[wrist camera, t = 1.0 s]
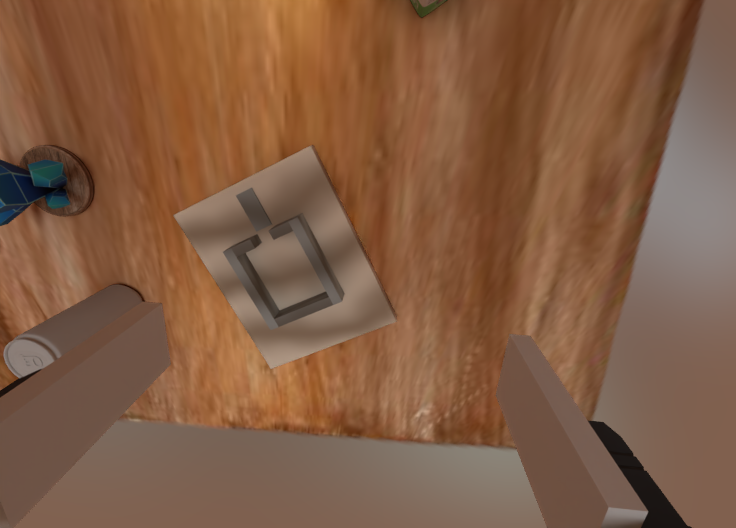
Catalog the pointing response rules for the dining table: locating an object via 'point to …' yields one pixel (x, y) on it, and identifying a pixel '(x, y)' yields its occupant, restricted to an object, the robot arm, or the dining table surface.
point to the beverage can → (68, 329)
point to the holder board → (288, 259)
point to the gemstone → (44, 183)
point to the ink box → (426, 6)
